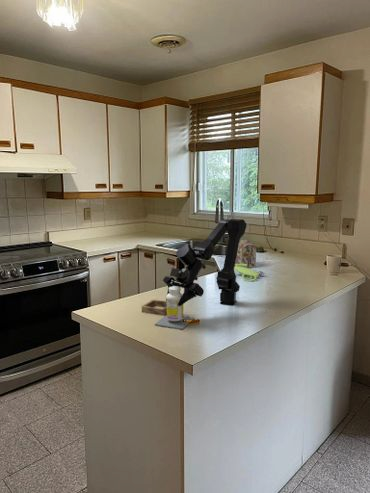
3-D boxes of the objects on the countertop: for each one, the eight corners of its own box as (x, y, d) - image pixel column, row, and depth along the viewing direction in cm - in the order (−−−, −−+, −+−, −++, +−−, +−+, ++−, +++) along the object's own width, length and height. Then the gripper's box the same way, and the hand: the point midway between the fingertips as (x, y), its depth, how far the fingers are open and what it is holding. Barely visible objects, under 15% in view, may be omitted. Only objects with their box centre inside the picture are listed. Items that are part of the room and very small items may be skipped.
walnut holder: (174, 307, 168) (174, 302, 168) (163, 315, 159) (163, 309, 158) (153, 304, 172) (152, 299, 172) (141, 312, 163) (141, 306, 162)
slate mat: (194, 319, 154) (194, 318, 154) (182, 329, 143) (182, 328, 143) (167, 315, 158) (167, 314, 158) (154, 325, 147) (154, 324, 147)
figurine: (239, 269, 242) (239, 261, 241) (271, 278, 221) (271, 268, 220) (217, 274, 231) (218, 265, 230) (249, 283, 210) (249, 273, 209)
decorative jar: (231, 265, 252) (231, 239, 249) (245, 264, 257) (246, 238, 254) (241, 269, 241) (241, 241, 238) (256, 267, 246) (257, 240, 243)
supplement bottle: (178, 314, 155) (177, 284, 153) (186, 319, 149) (186, 288, 147) (163, 317, 152) (163, 287, 149) (171, 323, 146) (171, 291, 144)
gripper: (165, 257, 156) (145, 288, 150) (198, 263, 143) (178, 298, 137) (179, 272, 162) (161, 302, 157) (212, 279, 149) (193, 313, 144)
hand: (172, 303), depth 148 cm, fingers closed on supplement bottle, 6 cm apart
